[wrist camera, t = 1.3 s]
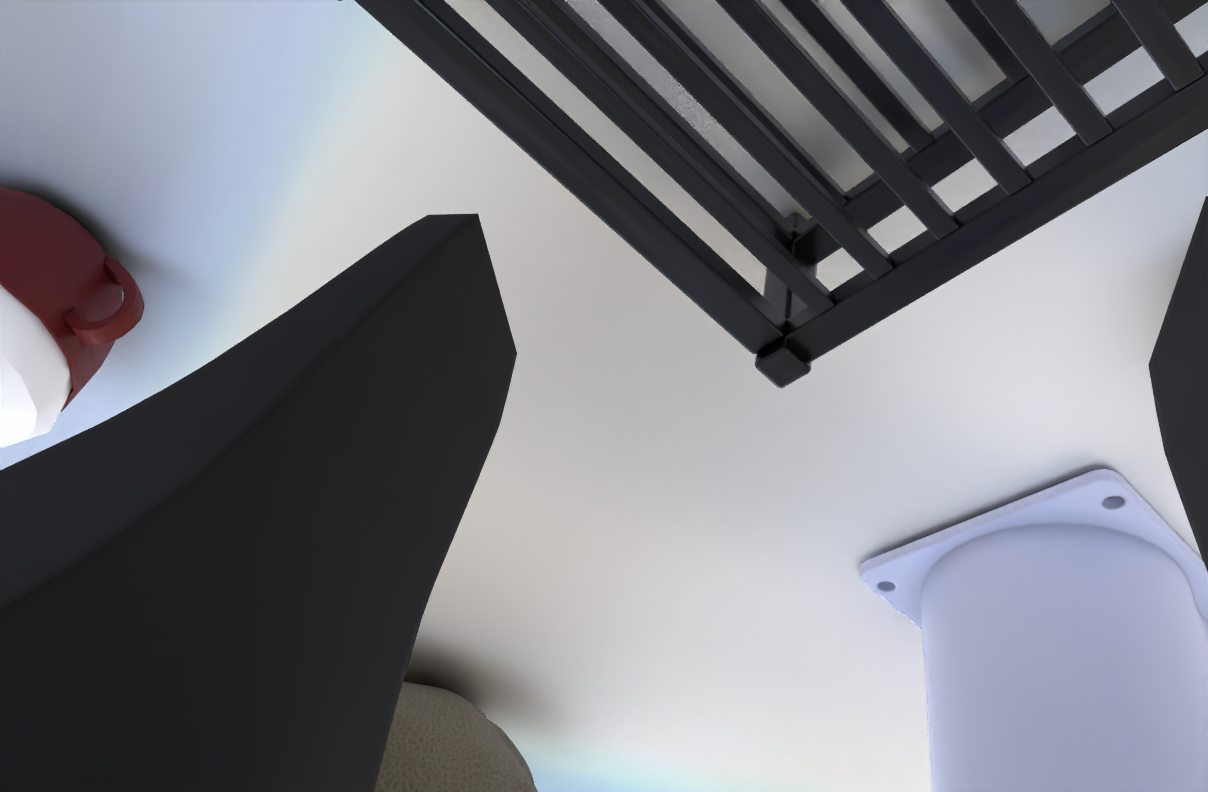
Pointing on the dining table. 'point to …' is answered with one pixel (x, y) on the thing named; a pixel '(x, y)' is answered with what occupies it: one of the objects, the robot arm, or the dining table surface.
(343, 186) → the dining table surface
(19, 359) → the cocoa
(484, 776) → the cantaloupe
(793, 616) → the dining table surface
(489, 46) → the shoe rack
